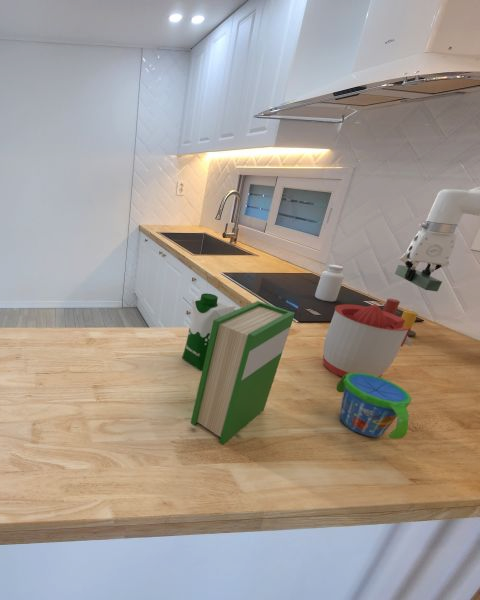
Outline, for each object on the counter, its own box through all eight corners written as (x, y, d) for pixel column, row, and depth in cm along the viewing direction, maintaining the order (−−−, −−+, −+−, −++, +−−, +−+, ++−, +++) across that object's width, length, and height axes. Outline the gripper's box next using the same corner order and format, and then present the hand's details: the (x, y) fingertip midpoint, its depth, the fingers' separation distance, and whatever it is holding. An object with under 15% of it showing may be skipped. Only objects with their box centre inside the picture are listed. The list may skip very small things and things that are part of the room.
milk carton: (177, 357, 95) (189, 291, 87) (200, 351, 99) (214, 287, 92) (201, 374, 88) (216, 303, 80) (224, 366, 92) (241, 298, 84)
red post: (391, 317, 132) (400, 298, 129) (401, 324, 126) (410, 305, 123) (370, 314, 134) (378, 295, 131) (378, 321, 128) (387, 301, 125)
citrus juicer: (399, 399, 82) (436, 326, 75) (315, 374, 91) (341, 306, 83) (387, 370, 95) (417, 305, 87) (314, 350, 103) (336, 289, 96)
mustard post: (408, 330, 121) (417, 310, 118) (419, 338, 115) (429, 317, 112) (385, 326, 123) (393, 306, 120) (394, 334, 117) (404, 313, 114)
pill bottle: (321, 294, 153) (332, 263, 148) (339, 301, 146) (352, 268, 141) (310, 296, 150) (320, 263, 145) (327, 302, 144) (339, 269, 138)
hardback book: (223, 445, 65) (253, 336, 56) (190, 422, 71) (213, 319, 62) (264, 409, 76) (295, 312, 67) (232, 392, 81) (257, 300, 72)
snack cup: (314, 399, 80) (329, 363, 77) (362, 405, 79) (378, 368, 75) (355, 450, 66) (375, 408, 62) (414, 457, 65) (438, 416, 61)
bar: (404, 274, 126) (408, 266, 125) (437, 291, 109) (442, 281, 107) (394, 273, 127) (398, 264, 126) (425, 289, 110) (430, 280, 108)
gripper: (414, 227, 110) (391, 280, 117) (478, 233, 105) (451, 288, 112) (402, 224, 117) (381, 274, 123) (462, 229, 112) (437, 281, 119)
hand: (414, 280), depth 118 cm, fingers closed on bar, 3 cm apart
